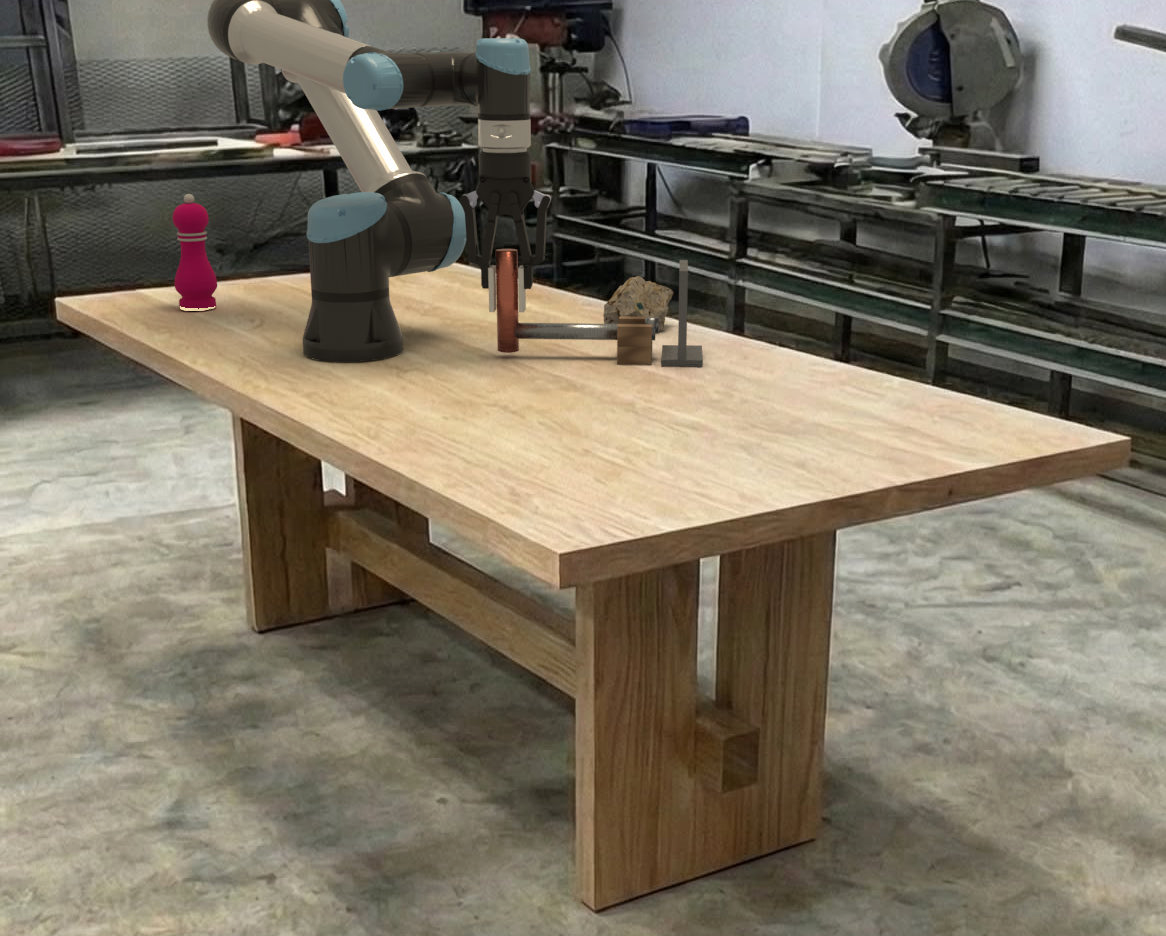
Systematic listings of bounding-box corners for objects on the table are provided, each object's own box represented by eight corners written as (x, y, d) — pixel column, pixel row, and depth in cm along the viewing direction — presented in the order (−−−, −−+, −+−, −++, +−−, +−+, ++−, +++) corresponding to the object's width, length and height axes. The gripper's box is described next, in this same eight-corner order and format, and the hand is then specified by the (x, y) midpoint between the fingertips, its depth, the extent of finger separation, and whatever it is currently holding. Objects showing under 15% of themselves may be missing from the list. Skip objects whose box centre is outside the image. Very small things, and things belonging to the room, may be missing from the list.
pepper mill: (168, 311, 251) (158, 195, 245) (191, 304, 257) (181, 190, 252) (205, 313, 249) (195, 196, 243) (226, 306, 255) (218, 192, 250)
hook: (496, 352, 214) (494, 251, 210) (498, 347, 217) (497, 248, 213) (658, 354, 213) (659, 253, 208) (658, 349, 216) (660, 249, 211)
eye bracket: (661, 366, 210) (662, 270, 206) (662, 351, 219) (663, 259, 215) (702, 366, 209) (704, 271, 205) (701, 352, 219) (703, 260, 215)
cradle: (617, 364, 211) (617, 326, 209) (619, 352, 219) (619, 316, 217) (651, 364, 211) (651, 327, 209) (652, 352, 218) (652, 316, 217)
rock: (619, 332, 227) (631, 270, 227) (595, 331, 232) (607, 270, 232) (678, 348, 234) (690, 287, 234) (654, 346, 239) (665, 287, 239)
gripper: (442, 151, 204) (447, 314, 211) (560, 152, 203) (561, 316, 210) (450, 147, 211) (455, 305, 218) (564, 147, 210) (565, 306, 217)
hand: (507, 310), depth 214 cm, fingers open, 4 cm apart
